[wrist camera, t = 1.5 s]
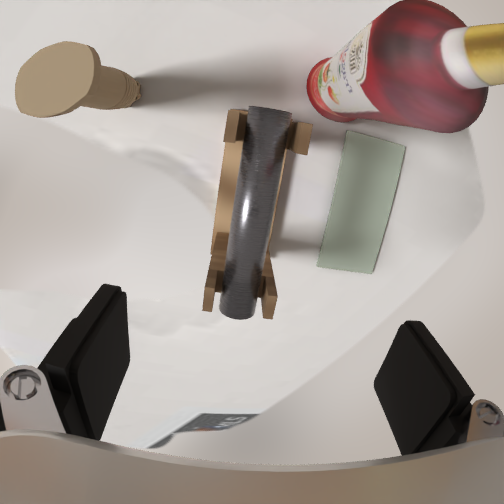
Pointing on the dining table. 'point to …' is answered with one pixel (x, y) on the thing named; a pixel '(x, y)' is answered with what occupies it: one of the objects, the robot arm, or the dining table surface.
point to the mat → (360, 203)
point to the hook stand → (225, 201)
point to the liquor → (412, 70)
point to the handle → (71, 82)
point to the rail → (253, 209)
